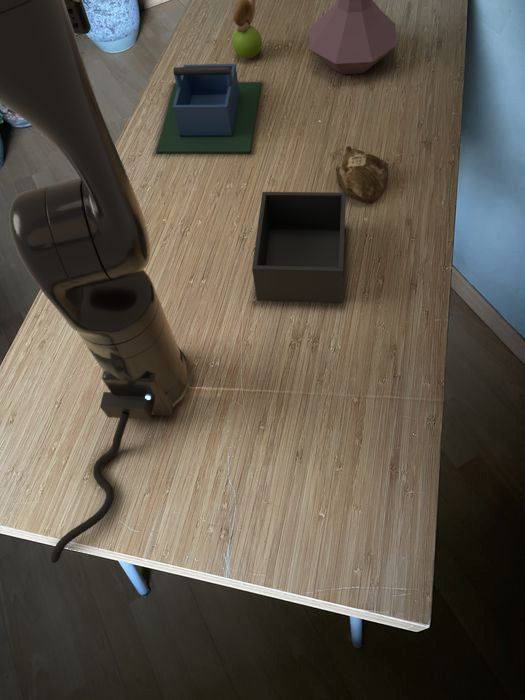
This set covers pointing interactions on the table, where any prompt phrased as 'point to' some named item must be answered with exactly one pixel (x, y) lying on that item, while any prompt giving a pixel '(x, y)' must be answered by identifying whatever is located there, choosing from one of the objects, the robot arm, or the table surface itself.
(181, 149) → the green mat
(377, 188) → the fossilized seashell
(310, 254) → the charcoal bin
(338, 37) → the flask
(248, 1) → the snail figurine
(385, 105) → the table surface
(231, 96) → the blue bin
